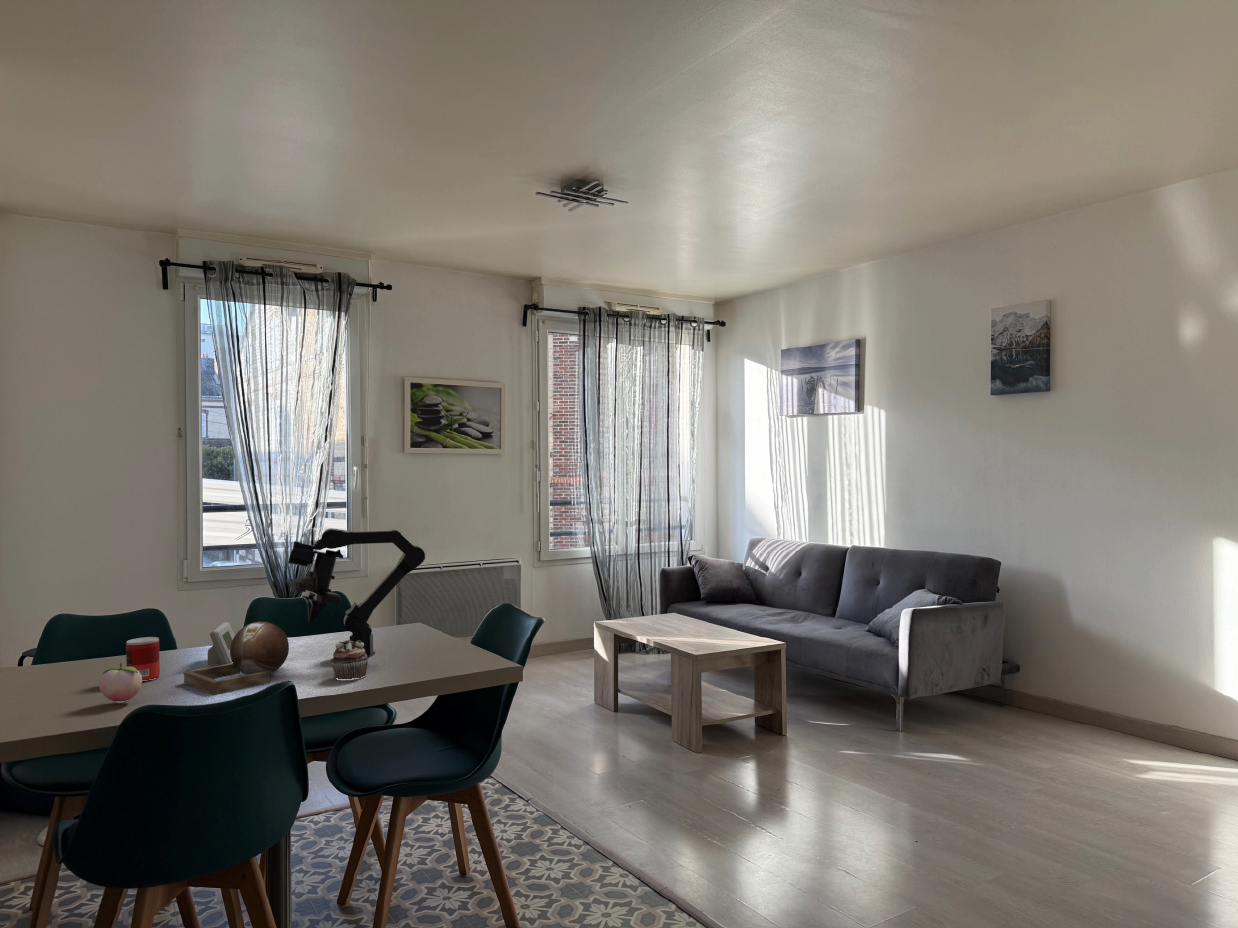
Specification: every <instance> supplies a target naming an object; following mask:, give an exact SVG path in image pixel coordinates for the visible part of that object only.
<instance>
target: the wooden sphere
mask: <svg viewBox="0 0 1238 928" xmlns="http://www.w3.org/2000/svg"><path fill="white" fill-rule="evenodd" d="M234 635H235V637H234V638H233V640H232V643H231V647H230V656H231V660H232V663H233V664H234V666H235V667H236V668H237V669H238V670H239V671H240V674H243V675H248V674H253V673H258V672H263V671H269V676H270V675H271V674H273V673H275V672H277V671H278V670H279V669H280V668H281V667H282V666H283V664H284V663H285V662H286V660H287V657H288V656H289V651H290V644H289V639H288V637H287V635H286V633H285V632H284V630H283V629H282V628H281V627H280V626H278V625H276V623H272V622H269V621H262V620H261V621H255V622H251V623H248V624H246V625H244V626H243V627H242V628H240V629H239V631H237V633H236V634H234Z"/></svg>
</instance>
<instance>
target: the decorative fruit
mask: <svg viewBox="0 0 1238 928" xmlns="http://www.w3.org/2000/svg"><path fill="white" fill-rule="evenodd" d="M119 666H120V667H119ZM119 666H113V667H110V668H107V669H105V670H103V672H102V674H103V675H102V677H101V678H100V681H99V683H98V685H99V687H98V688H99V690H100V692H101V694H102V695H103V696H104V697H105V698H107V699H108V700H109V701H111V702H114V701H126V700H128V701H130V700H131V699H133V698H134V697H135V696H137V694H138V693H139V691H140V689H141V687H142V684H143V682H142V676H141V674H140V673H139V671H137V669H136V668H134V667H127V666H122V663H121V662H120V663H119ZM126 702H127V701H126Z"/></svg>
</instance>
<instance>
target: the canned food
mask: <svg viewBox="0 0 1238 928" xmlns="http://www.w3.org/2000/svg"><path fill="white" fill-rule="evenodd" d="M125 652H126V653H125V654H126V655H125V657H126V660H125V661H126V667H134V668H136V669H137V671H139V673H140V674H141V676H142V680H149V679H154V678H158V679H159V677H160V676H161V675H160V670H161V669H160V665H161V664H160V637H156V636H147V637H138V638H137V637H136V638H133V639H129V640H127V641H126V644H125Z"/></svg>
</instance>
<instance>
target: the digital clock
mask: <svg viewBox="0 0 1238 928" xmlns="http://www.w3.org/2000/svg"><path fill="white" fill-rule="evenodd" d="M235 635H236V634H235V633H234V631H233V629H232V627H231V624H230V623H229V622H226V621H225V622H222V623H221V624H219V625H218V626H216V627H214V629H213V630H212V631H211V632H210V633H209V636H210V639H211V641H212V645H211V647H210V648H208V649H207V665H208V666H219V665H224V664H229V663H233V662H232V660H231V656H230V647H231V643H232V640H233V638H234V637H235Z"/></svg>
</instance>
